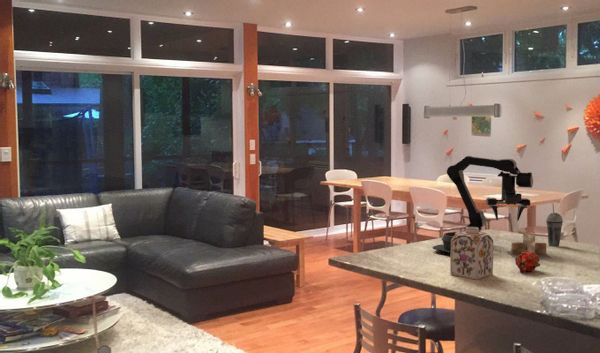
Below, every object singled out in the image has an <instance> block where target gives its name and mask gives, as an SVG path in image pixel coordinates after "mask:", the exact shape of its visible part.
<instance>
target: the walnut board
mask: <svg viewBox="0 0 600 353" xmlns="http://www.w3.org/2000/svg"><path fill="white" fill-rule="evenodd" d="M510 249H511V250H510V251H511V254H512V255H518V254H519V253H522V252H525V250H527V249H526V243H523V242H515V241H513V242H511V248H510ZM535 254H537V255H546V254H547V243H546V242H535Z"/></svg>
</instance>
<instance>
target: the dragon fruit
mask: <svg viewBox="0 0 600 353" xmlns="http://www.w3.org/2000/svg"><path fill="white" fill-rule="evenodd" d="M514 259H515V260H514V262H515V265H516V267H517V268H518V269H519V272H520V273H526V272H528V271H529V272H531V273H533V272H534V271H536V268H538V267H541V264H540V263H539V262H540V259H541V258H539V256H538V255H537V254H535V252H528V250H525V252H522V253H519V254H518V256H517V257H516V258H514Z"/></svg>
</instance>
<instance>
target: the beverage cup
mask: <svg viewBox="0 0 600 353" xmlns="http://www.w3.org/2000/svg"><path fill="white" fill-rule="evenodd" d="M551 205H552V212H551V213H550V214H548V215H547V217H546V220H545V222H546V227H547V241H548V242H547V243H548V247H558V248H559V247H560V244H561V233H562V227H563V223H564V220H563V217H562V216H561V214H559V213H557V212H555V205H554V203H552V204H551Z"/></svg>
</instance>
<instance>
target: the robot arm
mask: <svg viewBox="0 0 600 353" xmlns="http://www.w3.org/2000/svg"><path fill="white" fill-rule="evenodd" d="M469 166H479V167H486V168H493V169H497V170H499V171H500V172H499V173H498V174H497V177H499V178H500V177H501V199H497V198H496V197H487V198H486V200H485V204H486V205H487V206H489V207H490V208H491V209H492V212H493V215H494V217H495V220H496V221H498V220H499V214H498V207H499V206H498V205H500V204H501V205H505V204H506V205H508V206H509V205H517V211H516V213H517V214H516V220H517V222H519V221H520V218H521V215H522V213H523V211H524V209H525V208H528V206H530V207H531V199H529V198H527V197H526V198H525V197H524V198H523V197H522V193H516V186H518V188H529V189H532V188H533V185H534V177H533V172H531V171H530V172H521V171H520V169H519V168H518V167H517V166H518V165H517V162H516V161H515V160H514V159H512V158H503V159H501V158H499V159H495V158H494V159H493V158H485V157H479V156H471V155H467V156H464V158H463V159H461V160H459V161H458V162H457V163H455V164H454V165H449V167H448V168H447V169H446V174H447V176H448V178H449V179H450V181H451V182H452V183H453V184H454V185H455V186H456V189H457V191H458V193H459V196H460V197H461V199H462V202H463V204H464V206H465V208H466V210H467V213H468V221H469V224H468V225H466V227H477V228H479V231H480V232H482V229H483V228H484V227H485V225H486V224H487V220H486V219H487V217H486V215H485V214H484V213H485V212H484V211H483V210H479V209H478V208H477V206H476V203H475V201H474V199H473V197H472V195H471V192H470V190H469V188H468V186H467V184H466V180H465V175H464V170H466V169H467V168H468V167H469ZM466 227H465V228H464V230H466Z"/></svg>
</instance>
